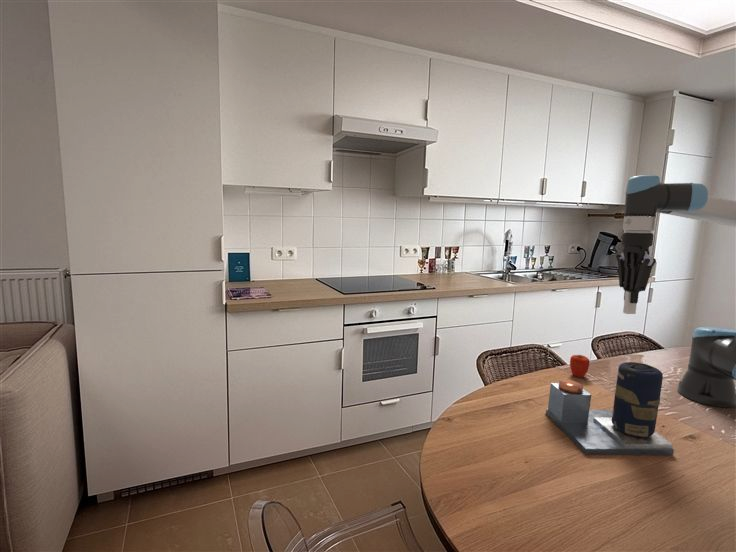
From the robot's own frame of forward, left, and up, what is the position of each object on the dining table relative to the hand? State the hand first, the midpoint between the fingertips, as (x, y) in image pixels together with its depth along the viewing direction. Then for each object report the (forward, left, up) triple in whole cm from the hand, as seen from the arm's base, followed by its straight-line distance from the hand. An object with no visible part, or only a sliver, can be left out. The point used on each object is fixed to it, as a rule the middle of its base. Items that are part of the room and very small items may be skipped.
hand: (629, 313), depth 120 cm
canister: (+8, +18, -27) cm, 33 cm away
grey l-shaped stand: (+13, +15, -29) cm, 35 cm away
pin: (+20, +9, -27) cm, 35 cm away
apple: (-2, -24, -29) cm, 38 cm away
